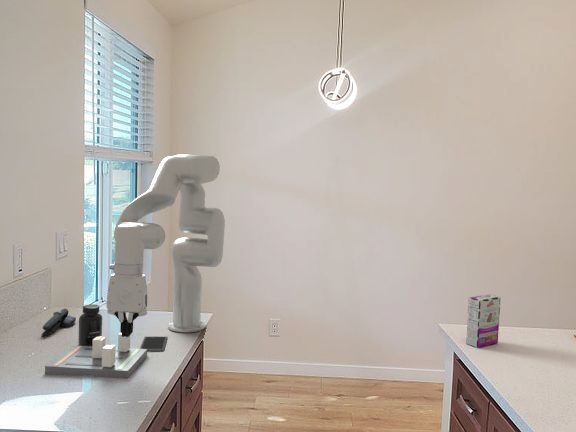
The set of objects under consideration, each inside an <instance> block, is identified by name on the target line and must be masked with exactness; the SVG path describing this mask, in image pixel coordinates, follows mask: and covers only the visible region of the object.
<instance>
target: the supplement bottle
mask: <svg viewBox="0 0 576 432" xmlns="http://www.w3.org/2000/svg"><path fill="white" fill-rule="evenodd" d="M99 336H103V315H102V314H101V313H100V305H99V304H94V303H93V304H92V303H91V304H84V305H83V306H82V314H80V315H79V318H78V340H77V343H78V345H79V346H93V339H95V338H96V337H99Z"/></svg>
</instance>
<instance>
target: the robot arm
mask: <svg viewBox="0 0 576 432" xmlns="http://www.w3.org/2000/svg"><path fill="white" fill-rule="evenodd" d="M220 167H221V165H220V161H219V160H218V159H217V158H216V157H215V156H214V155H199V154H198V155H197V154H176V155H171V156H167V157H165V158H163V159H162V161H161V162H160V164H159V166H158V167H157V170H156V172H155V175H154V177H153V179H152V182H151V183H150V185H149V188H148V189H147V191H146V192H144V193H142V194H141V195H139V196H138V197H136V198H135V199H134V200H132V201H131V202H129V204H127V205H126V206H125V207H124V209H123V210H122V212H121V214H120V216H119V218H118V220H117V222H116V224H115V226H114V231H113V238H114V242H115V243H114V263H113V264H109V266H108V267H109V270H112V272H113V273H111V274H110V276H109V282H108V288H107V295H106V309H107V314H108V315H112V316H115V317H116V319H118V322H120V328H119V329H120V332H119V333H122V337H124V336H125V337H129V336H130V337H131V335H132V334H133V332H134V321H135V320H136V319H138V318H139V317H145V316H146V315H147V314H148V311H147V310H148V309H147V307H148V286H147V280H146V279H147V278H146V274H145V273H144V250H156V249H159V248H160V247H162V245H163V244H164V242H165V239H166V231H165V229H164V227H163V226H162V225H160V224H158V223H154V222H145V221H140V220H141V219H142V218H144V217H146V216H147V215H151V214H152V213H156V212H159V211H162V210H164V209H168V208H169V207H172V206H173V205H174V203H175V202H176V198H177V197H178V193H179V209H178V229H179V230H180V232H182V233H186V234H192V235H202V236H207V238H200V237H179V238H177V239H176V240H174V242H173V243H172V245H171V258H172V264H173V295H172V296H173V299H172V301H173V303H172V305H173V306H172V310H173V311H172V321H170V322H169V323H168V324H167V328H168V330H170V331H172V332H175V333H176V332H177V333H195V332H199V331H202V330H204V329H205V327H206V325H205V322H203V321H201V318H202V317H201V316H202V315H201V313H202V309H201V308H202V284H203V282H202V280H203V278H202V274H201V272H200V270H199V268H198V267H203V268H216V267H218V266H219V265H220V264H221V262H222V259H223V256H224V255H223V254H224V253H223V252H224V243H225V227H226V223H225V222H226V221H225V220H226V219H225V214H224V212H223V211H222V210H221V209H220V208H217V207H209V206H206V205H205V203H206V201H205V200H206V192H205V189H204V186H203V185H202V184H206V183H207V184H208V183H211V182H214V181H215V180H216V179H217V178H218V176H219V175H220V172H221V168H220ZM127 313H128V315H127Z"/></svg>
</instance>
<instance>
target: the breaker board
mask: <svg viewBox="0 0 576 432" xmlns="http://www.w3.org/2000/svg"><path fill="white" fill-rule="evenodd" d="M147 357H148V352H147V349H140V348H134V347H133V348H131V347H130V349H129V350H128V351H127V352H118V347H116V353H115V364H114V365H113V366H112V367H102V358H92V346H80V345H79V344H78V345H75V344H73V345H72V346H70V347H69V348H67V349H65V351H64V352H62V353H61V354H59V355H58V356H57V357H56V358H54V359H53V360H51V361H49V362H48V363H47V364H46V365H44V374H46V375H47V374H49V375H65V376H66V375H67V376H82V377H85V376H86V377H99V378H100V377H101V378H103V377H104V378H117V379H118V378H119V379H128V378H130V376H131V375H132V374H133V372H134V371H136V369H137V368H138V367H139V366H140V365H141V363H142V362H144V360H145V359H146V358H147Z"/></svg>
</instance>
